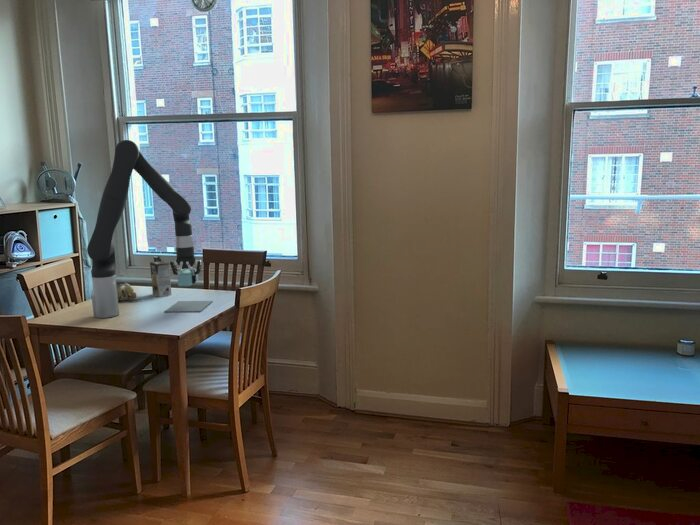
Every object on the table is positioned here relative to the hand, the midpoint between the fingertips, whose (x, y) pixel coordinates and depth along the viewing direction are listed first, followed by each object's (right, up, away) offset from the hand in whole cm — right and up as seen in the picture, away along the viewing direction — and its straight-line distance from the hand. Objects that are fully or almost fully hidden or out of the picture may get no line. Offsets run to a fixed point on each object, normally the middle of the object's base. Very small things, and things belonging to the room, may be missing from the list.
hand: (187, 283), depth 244 cm
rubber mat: (0, -11, +2) cm, 11 cm away
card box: (0, +4, +7) cm, 7 cm away
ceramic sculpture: (-35, -9, +19) cm, 41 cm away
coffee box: (-21, -7, +28) cm, 35 cm away
